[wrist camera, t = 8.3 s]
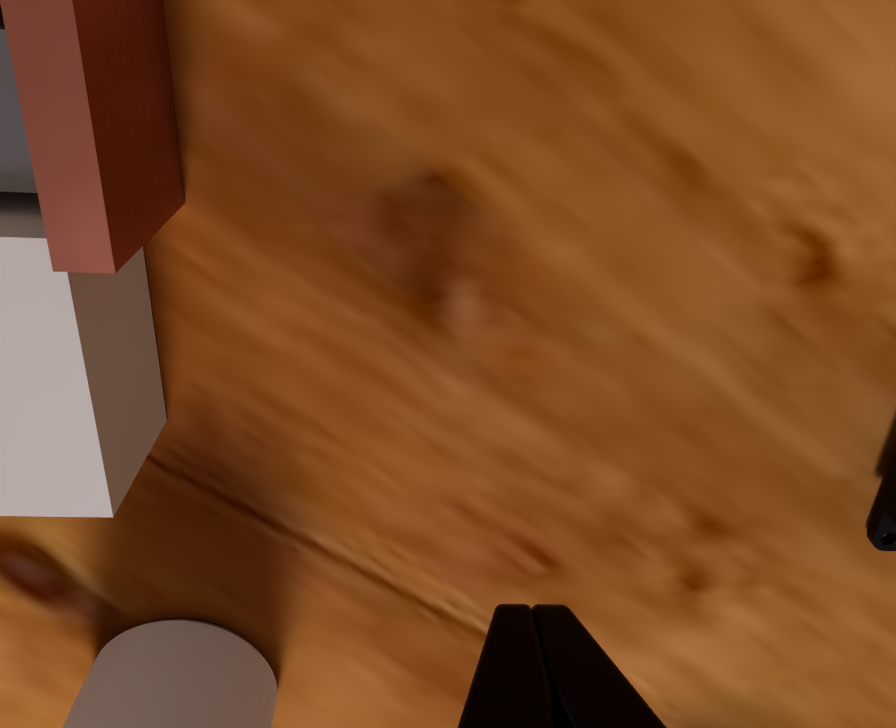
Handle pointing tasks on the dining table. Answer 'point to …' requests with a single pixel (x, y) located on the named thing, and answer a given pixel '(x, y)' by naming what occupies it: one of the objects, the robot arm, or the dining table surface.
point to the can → (177, 680)
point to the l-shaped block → (90, 125)
